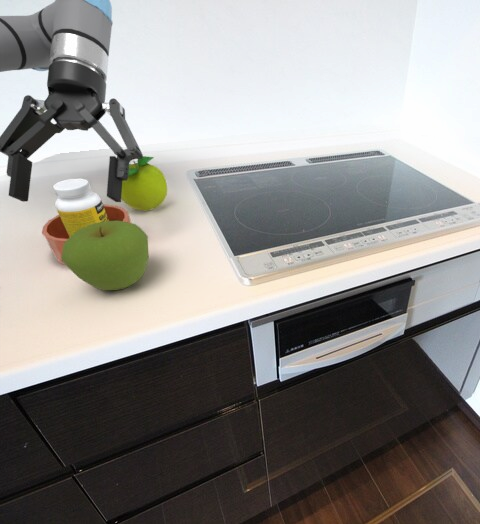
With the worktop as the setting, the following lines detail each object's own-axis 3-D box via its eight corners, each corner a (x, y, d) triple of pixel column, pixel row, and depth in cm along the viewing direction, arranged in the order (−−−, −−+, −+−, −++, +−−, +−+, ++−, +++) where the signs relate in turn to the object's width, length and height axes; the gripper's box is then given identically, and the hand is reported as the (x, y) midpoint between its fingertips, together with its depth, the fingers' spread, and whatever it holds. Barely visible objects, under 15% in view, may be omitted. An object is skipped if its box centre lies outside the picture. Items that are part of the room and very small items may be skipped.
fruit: (180, 200, 79) (169, 155, 73) (155, 220, 72) (140, 172, 66) (141, 195, 80) (127, 150, 74) (112, 215, 73) (94, 166, 67)
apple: (140, 254, 62) (122, 201, 56) (172, 280, 57) (155, 225, 51) (68, 283, 55) (39, 226, 49) (97, 316, 50) (68, 257, 44)
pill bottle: (118, 246, 63) (95, 187, 56) (76, 256, 60) (46, 195, 53) (113, 230, 67) (91, 173, 60) (73, 239, 64) (46, 180, 57)
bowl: (38, 254, 61) (24, 228, 58) (105, 223, 70) (96, 199, 67) (88, 275, 57) (75, 248, 54) (152, 239, 66) (144, 214, 63)
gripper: (167, 91, 64) (161, 206, 61) (13, 85, 61) (-2, 206, 58) (149, 62, 57) (141, 191, 53) (-27, 53, 54) (-48, 189, 51)
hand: (66, 199), depth 56 cm, fingers open, 13 cm apart
